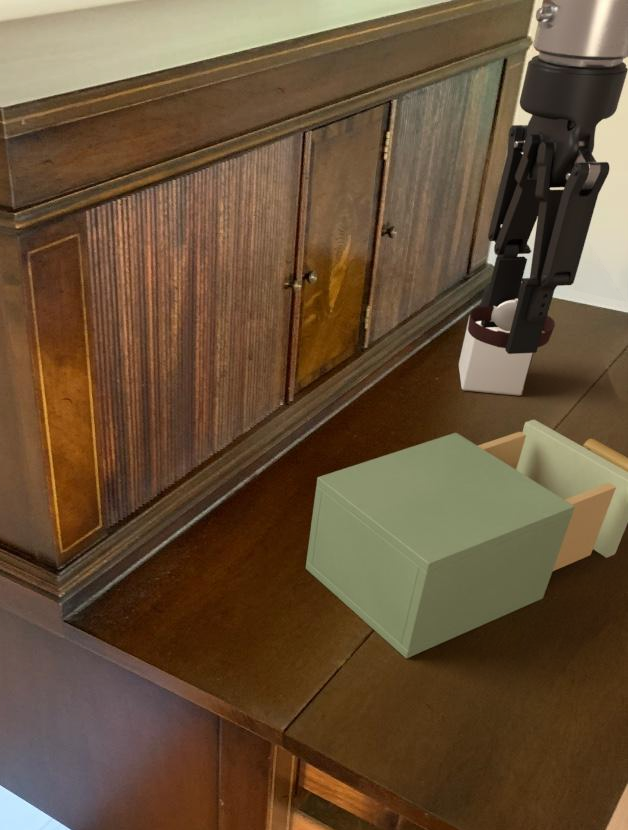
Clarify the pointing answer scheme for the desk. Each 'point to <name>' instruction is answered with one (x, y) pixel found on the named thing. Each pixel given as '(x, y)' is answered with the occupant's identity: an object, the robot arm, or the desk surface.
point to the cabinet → (434, 540)
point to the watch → (501, 324)
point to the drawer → (573, 485)
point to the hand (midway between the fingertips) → (507, 337)
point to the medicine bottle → (492, 364)
